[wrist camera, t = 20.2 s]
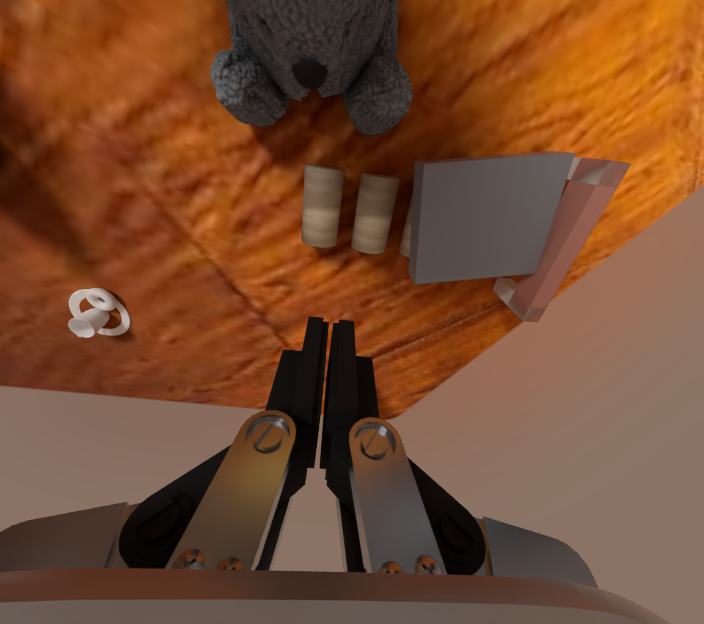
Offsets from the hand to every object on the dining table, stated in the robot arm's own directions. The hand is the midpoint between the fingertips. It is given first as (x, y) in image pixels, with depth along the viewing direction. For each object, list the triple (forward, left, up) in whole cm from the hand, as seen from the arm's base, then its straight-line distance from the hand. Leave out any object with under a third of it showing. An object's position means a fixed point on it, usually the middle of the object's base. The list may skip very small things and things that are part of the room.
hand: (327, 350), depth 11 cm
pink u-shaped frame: (0, +24, -27) cm, 36 cm away
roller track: (0, +9, -27) cm, 28 cm away
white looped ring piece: (+20, -30, -28) cm, 45 cm away
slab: (-1, +15, -23) cm, 27 cm away
